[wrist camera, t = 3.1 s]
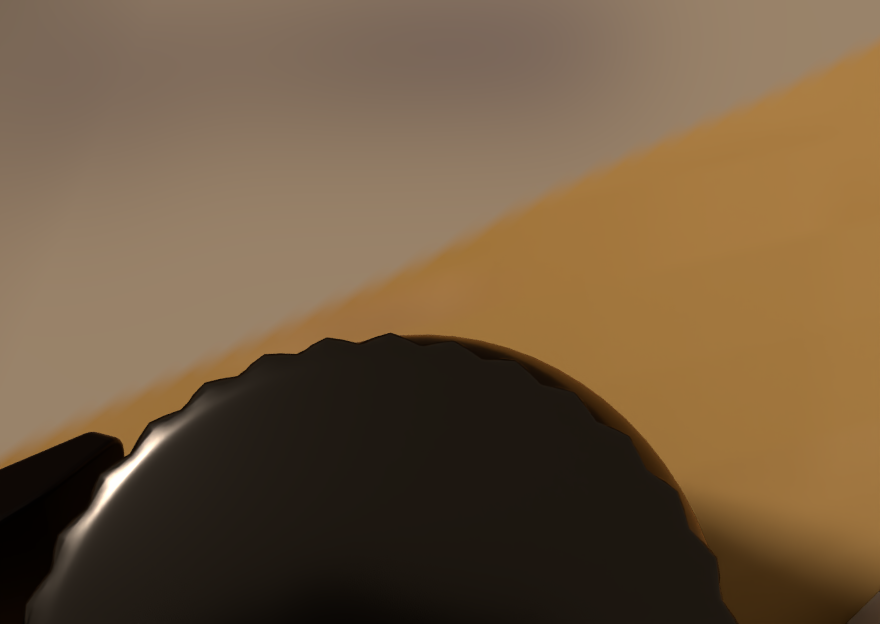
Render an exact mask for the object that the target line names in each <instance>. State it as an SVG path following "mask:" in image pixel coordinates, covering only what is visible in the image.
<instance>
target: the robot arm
mask: <svg viewBox="0 0 880 624" xmlns="http://www.w3.org/2000/svg"><path fill="white" fill-rule="evenodd" d="M123 457H124V448H123V444H122V442H121V441H120V439H118V438H116V437H112V436H109V435H105V434H101V433H97V432H88V433H85V434H82V435H80V436H78V437H75V438H73V439H71V440H68V441H66V442H64V443H61V444H59V445H56V446H54V447H52V448H49V449H47V450H45V451H42V452H40V453H38V454H35V455H33V456H31V457H28V458H26V459H23V460H21V461H19V462H16V463H14V464H12V465H9V466H7V467H5V468H2V469H0V624H23V618H24V608H25V603H26V602H27V600H28V599H29V597H30V596H31V594H32V593H33V592H34V590H35V589H36V587H37V586H38V585H39V584H40V582H41V581H42V580H43V579H44V577H45V576H46V575H47V574H48V572H49V570H50V567H51V563H52V556H53V549H54V546H55V542H56V538H57V535H58V533H59V532H60V531H61V530H62V529H63V528H64V527H65V526H66V525H67V524H68V523H69V522H70V521H71V520H72V519H73V518H75V517H76V516H77V515H78V514H79V513H80V512H81V511H83V510H84V509H85V508H86V506H87V503H88V501H89V499H90V497H91V492H92V489H93V486H94V484H95V482H96V480H97V478H98V476H99V473H101V472H102V471H104V470H105V469H106V468H108V467H109V466H111V465H112V464H113V463H115V462H117V461H118V460H120V459H122V458H123Z"/></svg>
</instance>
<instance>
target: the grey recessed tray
mask: <svg viewBox="0 0 880 624" xmlns="http://www.w3.org/2000/svg"><path fill="white" fill-rule="evenodd" d="M846 624H880V591H879V592H878V593H877V594H876V595H875V596H874V597H873V598H872V599H871V600H870V601H869V602H868V603H867V604H866V605H865V606H864V607H863V608H862V609H861V610H860V611H859V612H858V613H857V614H855V615H854V616H853V617H852V618H851V619H850V620H849V621H848V622H847V623H846Z"/></svg>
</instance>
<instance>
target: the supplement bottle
mask: <svg viewBox="0 0 880 624" xmlns="http://www.w3.org/2000/svg"><path fill="white" fill-rule="evenodd" d="M23 624H738V622H737V621H736V619H735V617H734V616H733V614H732V613H731V612H730V610H729V609H728V608H727V606H726V605H725V603H724V602H723V597H722V593H721V588H720V574H719V567H718V560H717V557H716V556H715V554H714V553H713V552H712V551H711V550H710V549H709V547H708V545H707V542H706V540H705V538H704V535H703V533H702V530H701V528H700V526H699V523H698V521H697V518H696V516H695V514H694V513H693V511H692V509H691V507H690V505H689V503H688V501H687V499H686V497H685V495H684V494H683V492H682V490H681V488H680V487H679V485H678V484H677V482H676V481H675V479H674V477H673V476H672V474H671V473H670V471H669V470H668V468H667V467H666V465H665V464H664V462H663V461H662V460H661V459H660V457H659V456H658V455H657V453H656V452H655V451H654V450H653V448H652V447H651V446H650V445H649V443H648V442H647V441H646V440H645V439H644V438H643V436H642V435H641V434H640V433H639V432H638V431H637V430H636V429H635V428H634V427H633V426H632V425H631V424H630V423H629V422H628V421H627V419H625V418H624V417H623V416H622V415H621V414H620V413H619V412H618V411H616V410H615V409H614V408H613V407H612V406H611V405H610V404H608V403H607V402H606V401H605V400H604V399H602V398H601V397H600V396H598V395H597V394H596V393H594V392H593V391H592V390H590V389H589V388H587V387H586V386H585V385H583V384H582V383H580V382H579V381H577V380H575V379H574V378H572V377H570V376H569V375H567V374H565V373H564V372H562V371H560V370H559V369H557V368H555V367H553V366H550V365H548V364H546V363H544V362H542V361H540V360H538V359H536V358H534V357H531V356H529V355H526V354H523V353H520V352H518V351H515V350H512V349H510V348H507V347H503V346H499V345H495V344H491V343H488V342H484V341H479V340H473V339H467V338H461V337H455V336H441V335H400V336H399V335H396V334H393V333H388V334H384V335H381V336H377V337H374V338H371V339H369V340H366V341H362V342H357V343H354V342H350V341H346V340H341V339H334V338H325V339H323V340H321V341H319V342H317V343H315V344H312V345H311V346H310V347H309V348H307V349H306V350H304V351H302V352H300V353H298V354H281V353H279V354H264V355H263V356H261V357H260V358H259V359H257V360H256V361H255V362H253V363H252V364H251V365H250V366H249V367H248V368H247V369H246V370H245V371H244V372H242V373H241V374H240V375H238V376H236V377H229V378H223V379H218V380H214V381H210V382H206V383H204V384H203V385H202V386H201V387H200V388H199V389H198V390H197V391H196V392H195V393H194V394H193V396H192V397H191V399H190V400H189V402H188V403H187V404H186V405H185V406H184V407H183V408H182V409H181V410H179V411H176V412H173V413H170V414H167V415H165V416H162V417H160V418H158V419H156V420H154V421H152V422H149V423H148V425H147V426H146V428H145V429H144V431H143V432H142V434H141V435H140V437H139V438H138V440H137V442H136V444H135V446H134V447H133V449H132V451H131V453H130V454H129V455H127V456H125V457H123V458H122V459H120V460H118V461H117V462H115V463H113V464H112V465H111V466H109V467H108V468H106V469H105V470H104V471H102V472H101V473H99V476H98V478H97V480H96V482H95V484H94V486H93V489H92V492H91V497H90V499H89V501H88V503H87V506H86V508H85V509H84V510H83V511H81V512H80V513H79V514H78V515H77V516H76V517H75V518H73V519H72V520H71V521H70V522H69V523H68V524H67V525H66V526H65V527H64V528H63V529H62V530H61V531H60V532H59V533H58V535H57V538H56V542H55V546H54V549H53V556H52V563H51V567H50V570H49V572H48V574H47V575H46V576H45V577H44V579H43V580H42V581H41V582H40V584H39V585H38V586H37V587H36V589H35V590H34V592H33V593H32V594H31V596H30V597H29V599H28V600H27V602H26V603H25V608H24V618H23Z"/></svg>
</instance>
